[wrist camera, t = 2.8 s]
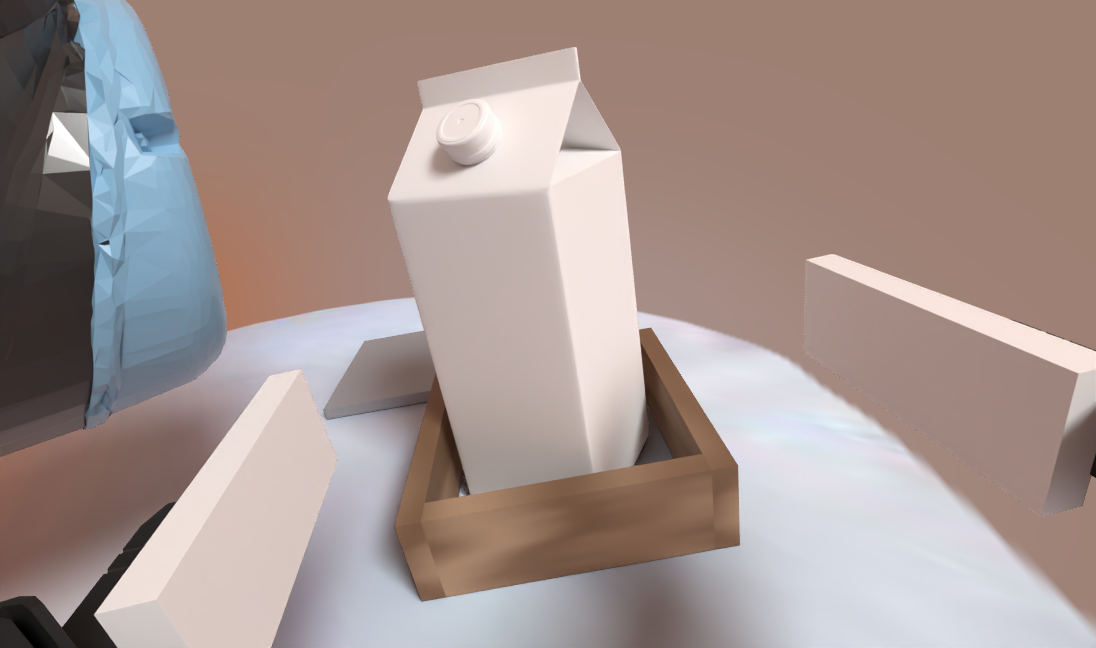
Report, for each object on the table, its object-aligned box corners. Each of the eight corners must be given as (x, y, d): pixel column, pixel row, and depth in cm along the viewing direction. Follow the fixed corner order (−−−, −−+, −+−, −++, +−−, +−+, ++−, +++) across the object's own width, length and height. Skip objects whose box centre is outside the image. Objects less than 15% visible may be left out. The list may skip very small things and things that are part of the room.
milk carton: (536, 419, 32) (466, 76, 24) (650, 437, 28) (611, 46, 21) (470, 500, 26) (353, 87, 19) (603, 534, 23) (526, 47, 15)
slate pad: (327, 419, 36) (323, 409, 36) (367, 349, 46) (364, 341, 46) (486, 391, 36) (483, 381, 36) (490, 327, 46) (489, 319, 46)
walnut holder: (421, 601, 21) (394, 526, 20) (452, 421, 33) (437, 365, 31) (739, 544, 21) (737, 465, 20) (656, 384, 33) (651, 327, 32)
